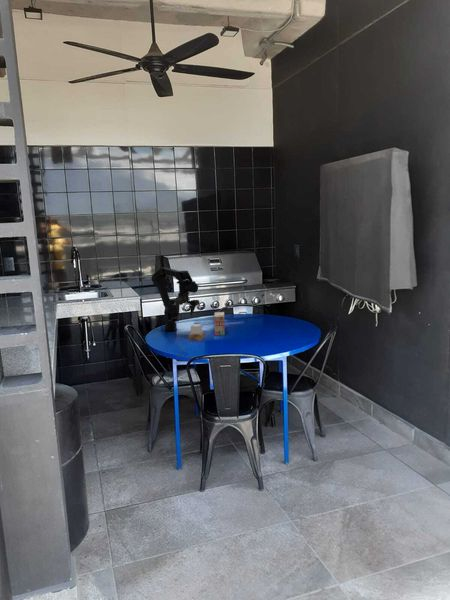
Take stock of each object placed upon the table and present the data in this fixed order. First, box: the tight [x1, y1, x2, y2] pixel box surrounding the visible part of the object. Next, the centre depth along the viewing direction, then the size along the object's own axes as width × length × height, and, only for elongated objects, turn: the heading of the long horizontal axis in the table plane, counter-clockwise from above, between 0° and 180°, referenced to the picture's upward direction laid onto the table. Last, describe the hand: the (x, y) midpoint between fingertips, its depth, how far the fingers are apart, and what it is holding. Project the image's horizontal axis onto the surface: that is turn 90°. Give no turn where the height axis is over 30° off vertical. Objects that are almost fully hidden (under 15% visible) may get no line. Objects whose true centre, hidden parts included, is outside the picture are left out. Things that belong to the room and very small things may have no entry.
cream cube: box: [190, 323, 203, 334], centre depth 274 cm, size 5×5×5 cm
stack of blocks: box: [213, 311, 226, 336], centre depth 292 cm, size 21×6×12 cm, turn 0°
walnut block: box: [188, 330, 206, 342], centre depth 275 cm, size 8×8×4 cm
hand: (184, 315), depth 285 cm, fingers open, 9 cm apart
